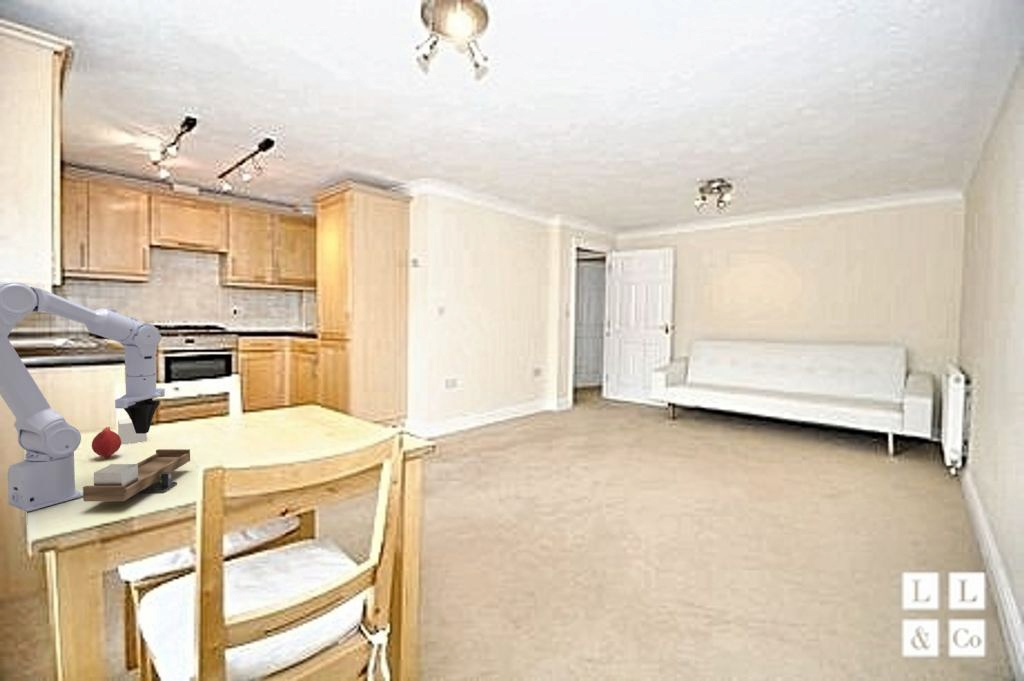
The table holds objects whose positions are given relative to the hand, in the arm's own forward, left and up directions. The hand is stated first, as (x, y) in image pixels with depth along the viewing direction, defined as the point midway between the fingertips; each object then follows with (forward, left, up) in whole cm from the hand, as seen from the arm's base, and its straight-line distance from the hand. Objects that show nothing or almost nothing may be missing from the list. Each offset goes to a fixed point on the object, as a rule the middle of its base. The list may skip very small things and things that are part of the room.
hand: (142, 432), depth 118 cm
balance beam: (-6, -10, -7) cm, 13 cm away
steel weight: (-13, -14, -6) cm, 20 cm away
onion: (+2, +19, -10) cm, 22 cm away
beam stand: (-6, -10, -10) cm, 15 cm away
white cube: (+14, +30, -10) cm, 35 cm away
